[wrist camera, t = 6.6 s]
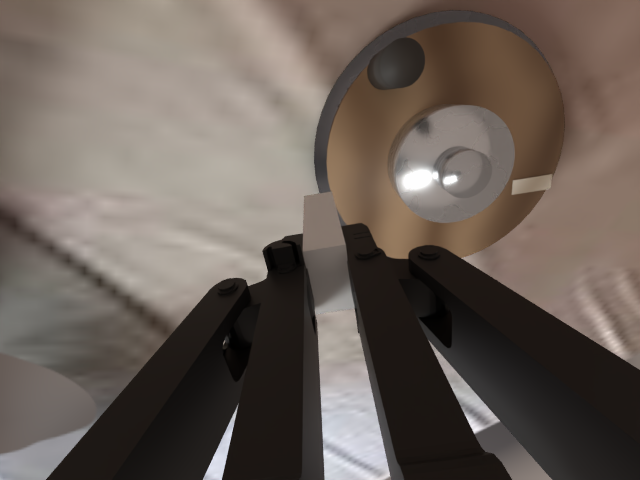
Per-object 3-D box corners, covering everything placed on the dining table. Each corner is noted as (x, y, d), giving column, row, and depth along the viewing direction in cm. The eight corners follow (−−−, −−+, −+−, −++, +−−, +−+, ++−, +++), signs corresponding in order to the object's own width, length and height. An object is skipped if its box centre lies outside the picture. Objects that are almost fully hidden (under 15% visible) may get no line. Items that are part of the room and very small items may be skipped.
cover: (391, 216, 26) (407, 242, 21) (383, 115, 23) (399, 119, 18) (489, 200, 25) (526, 223, 21) (495, 94, 22) (541, 93, 18)
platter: (341, 268, 30) (348, 311, 24) (308, 52, 22) (305, 36, 16) (535, 239, 29) (592, 277, 23) (568, 3, 21) (666, -34, 15)
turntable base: (332, 272, 31) (333, 278, 30) (292, 42, 23) (291, 39, 22) (536, 241, 30) (545, 247, 29) (571, -13, 22) (585, -18, 21)
